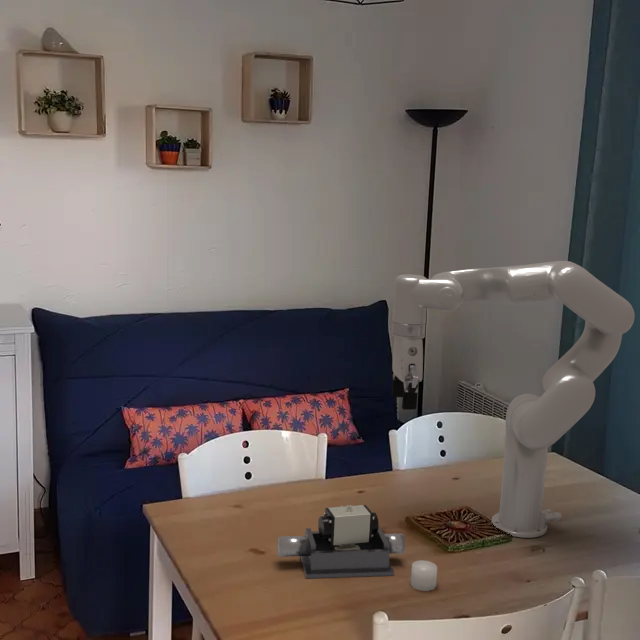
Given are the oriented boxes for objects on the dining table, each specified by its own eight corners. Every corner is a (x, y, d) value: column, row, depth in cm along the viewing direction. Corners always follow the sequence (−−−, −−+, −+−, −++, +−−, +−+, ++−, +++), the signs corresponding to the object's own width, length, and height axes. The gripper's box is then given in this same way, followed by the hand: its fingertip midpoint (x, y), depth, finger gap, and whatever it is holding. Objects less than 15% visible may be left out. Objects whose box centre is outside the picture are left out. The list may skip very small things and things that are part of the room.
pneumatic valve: (376, 562, 173) (380, 508, 171) (322, 568, 170) (325, 512, 168) (367, 550, 178) (370, 497, 176) (315, 555, 175) (317, 501, 173)
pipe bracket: (394, 548, 182) (396, 522, 181) (408, 574, 170) (410, 547, 169) (275, 551, 178) (276, 524, 177) (281, 579, 166) (282, 551, 165)
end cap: (431, 578, 170) (433, 560, 169) (439, 590, 165) (440, 572, 164) (407, 579, 169) (409, 560, 168) (414, 591, 164) (415, 572, 163)
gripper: (435, 338, 181) (429, 414, 184) (414, 322, 198) (409, 392, 201) (401, 337, 180) (396, 414, 183) (383, 322, 196) (379, 392, 200)
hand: (403, 402), depth 192 cm, fingers open, 9 cm apart
